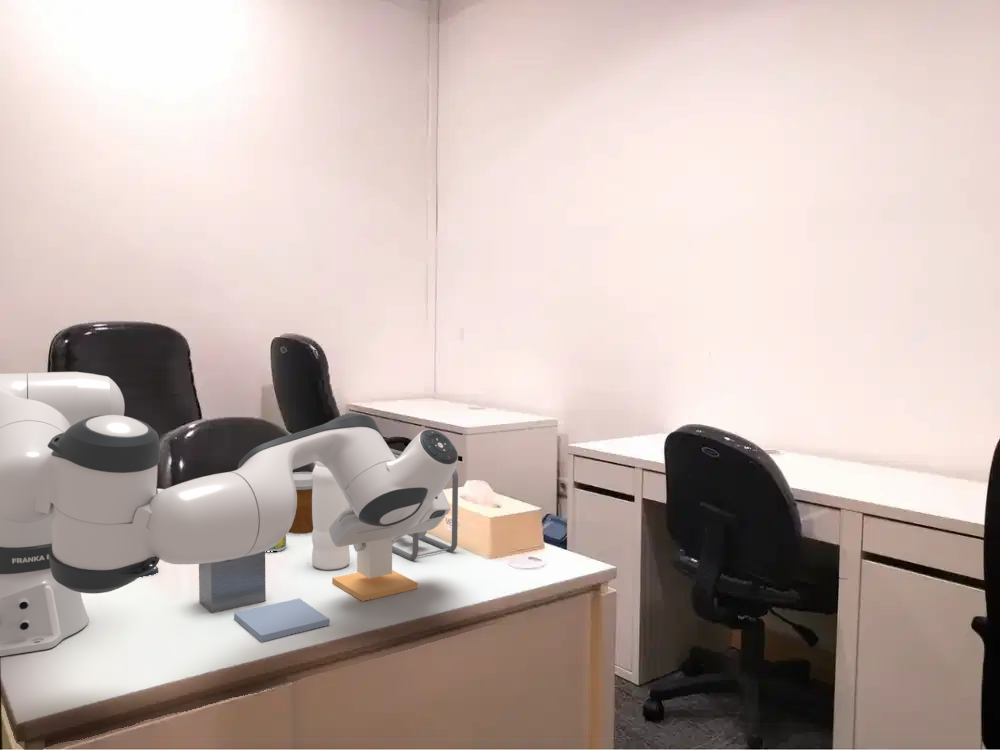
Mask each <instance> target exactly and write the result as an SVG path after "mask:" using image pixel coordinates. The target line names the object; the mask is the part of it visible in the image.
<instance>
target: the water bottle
mask: <svg viewBox="0 0 1000 750" xmlns="http://www.w3.org/2000/svg"><path fill="white" fill-rule="evenodd" d="M315 463H316V464H315V465H314V468H313V469H312V471H311V472H312V480H313V489H312V519H313V531H312V532H311V533H312V534H311V540H312V553H311V563H312V565H313V567H315V568H316V569H319V570H324V571H333V570H340V569H342V568H345V567H347V566H348V565H349V563H350V560H351V557H350V555H351V552H350V545H348V546H343V547H336V546H335V545H334V543H333V541H332V539H331V536H330V533H329V528H330V526H331V524H332V523H333V522H334V520H335V519H336V518H337V517H338V516H339V515H340V514H341V512H343V511H344V510H345V509H347V508H349V507H351V506H350V504H349V503H348V501H347V499H346V498H345V495H344V493H343V492H342V490H341V488H340V487H339V485H338V483H337V482H336V480H335V478H334V477H333V475H332V473H331V472H330V471H329V469H328V468H327V467H326V466H325V465H323V464H322V463H321V462H319V461H316V462H315Z"/></svg>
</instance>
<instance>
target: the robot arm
mask: <svg viewBox="0 0 1000 750" xmlns="http://www.w3.org/2000/svg"><path fill="white" fill-rule="evenodd" d="M125 409H126V407H125V399H124V395H123V393H122V391H121V388H120V387H119V386H118V385H117V383H116V382H115V381H114V380H113V379H112V378H110V377H109V376H106V375H101V374H96V373H89V372H79V371H49V372H47V371H45V372H28V373H27V372H22V373H21V372H19V373H17V372H15V373H9V372H8V373H0V657H5V656H10V655H18V654H24V653H30V652H37V651H44V650H49V649H51V648H54V647H55V646H57V645H58V644H60V643H61V641H62V640H64V639H65V638H67V637H69V636H72V635H74V634H76V633H78V632H79V631H81V630H82V629H84V628H85V627H86V626H87V625H88V624H89V616H88V614H87V611H86V607H85V604H84V602H83V601H84V600H83V598H82V594H103V593H110V592H112V591H115V590H117V589H120V588H123V587H125V586H127V585H130V584H131V583H133V582H135V581H136V580H137V579H139V578H138V577H140V576H143V575H145V574H147V573H149V572H150V571H152V570H153V569H154V568H155V566H157V565H158V564H159V562H160V561H163V562H164V563H167V564H169V565H170V564H171V565H199V564H204V563H213V562H220V561H226V560H231V559H236V558H241V557H245V556H249V555H253V554H257V553H260V552H263V551H265V550H268V549H270V548H272V547H274V546H275V545H277V544H278V543H279V542H280V541H281V540H282V539H283V538H284V537H285V536H286V537H287V534H288V533H289V530H290V528H291V526H292V523H293V521H294V518H295V513H296V508H297V492H296V488H295V483H294V478H293V473H294V472H293V471H294V470H296V469H299V468H302V467H304V466H308V465H310V464H313V463H317V461H319V462H321V463H322V464H323V465H325V466H326V467H327V468H328V469H329V471H330V472H331V473H332V475H333V477H334V478H335V480H336V482H337V483H338V485H339V487H340V488H341V490H342V492H343V493H344V495H345V498H346V499H347V501H348V503H349V504H350V507H349V508H347V509H345V510H344V511H343V512H341V514H340V515H339V516H338V517H337V518H336V519H335V520H334V522H333V523H332V524H331V526H330V528H329V533H330V536H331V539H332V541H333V543H334V545H335V546H336V547H343V546H348V545H349V546H353V549H354V551H355V553H357V551H362V550H364V548H365V547H366V543H365V542H370V541H375V540H380V539H386V538H391V537H392V546H394V544H395V542H396V541H398V540H400V538H403V537H404V536H406V535H408V534H413V533H418V532H424V531H427V532H428V531H432V530H433V529H435V528H437V527H439V525H440V523H441V522H442V521H443V520H444V519H445V517H446V515H448V514H449V513H450V512H451V506H450V503H449V501H448V498H447V496H446V494H445V491H444V489H445V487H446V486H447V484H448V483H449V482H450V480H451V478H452V475H453V473H454V471H455V469H456V468H457V465H458V461H459V454H458V450H457V449H456V447H455V446H454V444H453V443H452V441H451V440H450V439H449V438H448V437H447V436H446V435H445V434H443V433H442V432H440V431H438V430H435V429H429V428H428V429H423V430H422V431H420V432H419V433H418V434H417V435H416V436H414V438H413V439H412V440H411V441H410V442H409V443H408V445H407V446H406V447H405V448H404V450H403V451H401V452H402V454H401V455H400V457H398V458H397V457H395V456H394V455H393V453H392V452H391V450H390V447H389V445H388V444H387V442H386V441H385V439H384V435H383V434H382V432H381V430H380V428H379V426H378V424H377V423H376V420H375V419H374V418H373V417H371V416H368V415H365V414H361V413H357V412H350V413H349V412H348V413H345V414H343V415H340V416H338V417H335V418H334V419H331V420H329V421H328V422H325V423H323V424H320V425H317V426H314V427H311V428H308V429H305V430H301V431H297V432H295V433H292V434H287V435H285V436H282V437H278V438H275V439H271V440H270V441H267V442H264V443H262V444H260V445H257V446H255V447H254V448H252V449H251V450H249V451H248V452H247V453H246V454H245V455H244V456H243V457H242V458H241V459H240V460H239V462H238V465H237V469H235V470H232V471H227V472H220V473H213V474H210V475H206V476H200V477H197V478H193V479H189V480H187V481H184V482H181V483H178V484H175V485H173V486H170V487H167V488H157V487H158V465H159V464H160V462H161V458H162V457H161V443H160V438H159V437H160V436H159V434H158V432H157V431H156V430H155V429H154V428H153V427H151V426H150V425H149V424H148V423H146V422H144V421H142V420H141V419H137V418H134V417H129V416H125ZM150 565H152V566H150Z"/></svg>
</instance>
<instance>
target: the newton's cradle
mask: <svg viewBox="0 0 1000 750" xmlns="http://www.w3.org/2000/svg"><path fill="white" fill-rule="evenodd" d="M389 448H390V447H389ZM390 450H391V452H392V453H393V455H394V456H395V458H396V459H397V458H398V457H400V455H401V454H402V452H403V451H401V450H397V449H394V448H390ZM458 474H459V473H458V471H457V469H456V468H455V471H454V473H453V475H452V476H451V478H452V482H451V483H452V489H451V490H452V491H451V492H452V496H451V499H452V500H451V501H452V502H451V545H448V544H445V543H444V542H441V541H438V540H437V539H434V538H431V537H428V536H426V535H427V532H428V531H424V532H418V533H413V534H407V535H408V536H410V537H411V538H412V552H411V553H410V552H407V551H405V550H403V549H400V548H398V547H396V546H395V545H392V554H393V553H394V554H395V555H398V556H400V557H402V558H404V559H407V560H408V561H414V560H416V559H417V558H418V557H423V556H427V555H431V554H436V553H442V552H449V553H452V552H454V551H455V550H456V549H457V546H458V525H459V524H458V522H459V521H458V520H459V519H458V517H459V516H458V515H459V509H458V507H459V475H458ZM419 540H420V541H422V542H425V543H427V544H430V545H432V546H434V547H436V548H439V549H438V550H433V551H429V552H423V553H419Z"/></svg>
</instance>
